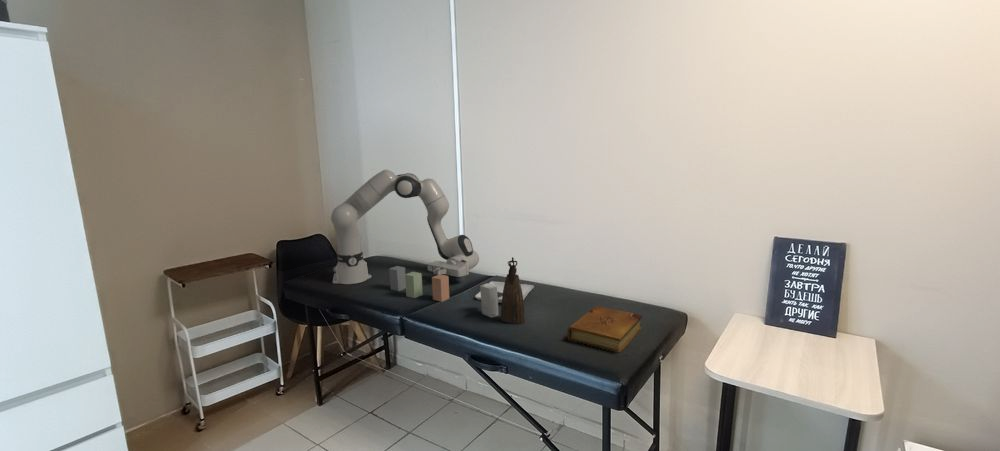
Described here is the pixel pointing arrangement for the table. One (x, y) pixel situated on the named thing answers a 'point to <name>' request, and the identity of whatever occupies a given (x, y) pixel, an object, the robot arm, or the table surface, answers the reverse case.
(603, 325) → the diary
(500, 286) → the salad plate
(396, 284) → the slate block
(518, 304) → the statue
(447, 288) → the terracotta block
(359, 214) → the robot arm
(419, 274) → the sage block
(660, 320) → the table surface
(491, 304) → the skincare box
